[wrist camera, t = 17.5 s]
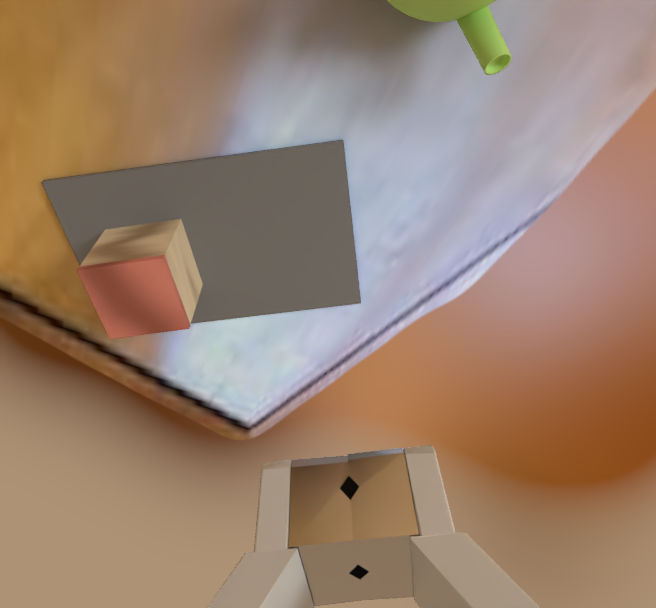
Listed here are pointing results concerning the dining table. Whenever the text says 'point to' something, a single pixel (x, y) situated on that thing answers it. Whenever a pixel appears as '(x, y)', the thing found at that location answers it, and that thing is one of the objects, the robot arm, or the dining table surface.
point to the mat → (234, 224)
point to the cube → (142, 279)
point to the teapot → (465, 26)
